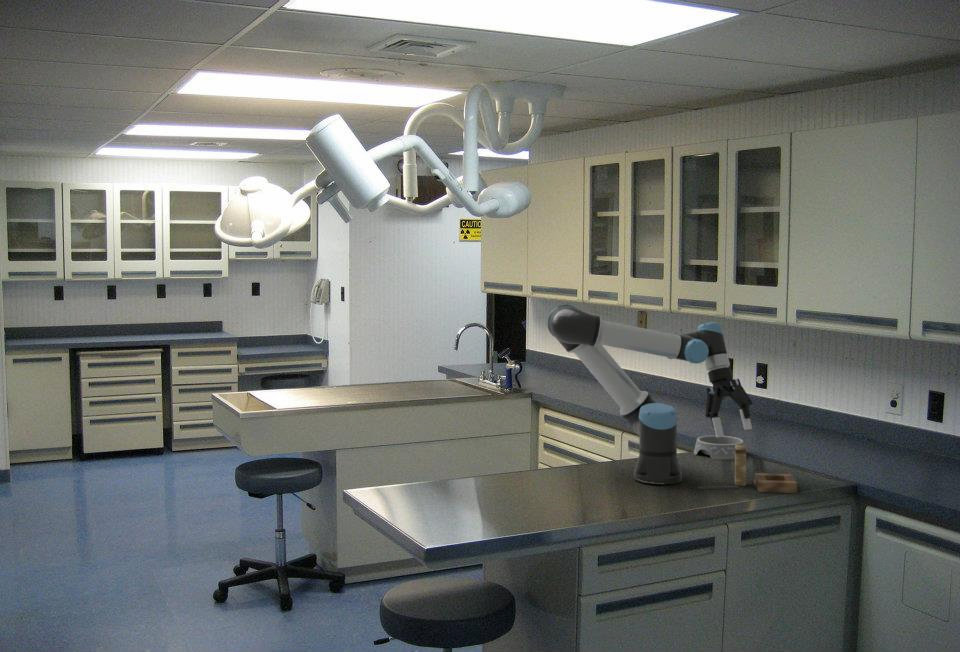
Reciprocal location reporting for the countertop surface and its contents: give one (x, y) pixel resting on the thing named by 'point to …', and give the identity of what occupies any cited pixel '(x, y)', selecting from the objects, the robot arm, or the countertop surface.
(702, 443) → the dog bowl
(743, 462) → the wooden peg
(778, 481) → the square wooden tray
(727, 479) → the countertop surface
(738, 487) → the lace
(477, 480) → the countertop surface
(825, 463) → the countertop surface
